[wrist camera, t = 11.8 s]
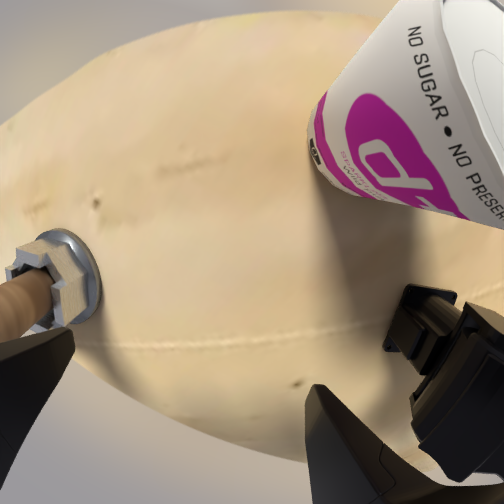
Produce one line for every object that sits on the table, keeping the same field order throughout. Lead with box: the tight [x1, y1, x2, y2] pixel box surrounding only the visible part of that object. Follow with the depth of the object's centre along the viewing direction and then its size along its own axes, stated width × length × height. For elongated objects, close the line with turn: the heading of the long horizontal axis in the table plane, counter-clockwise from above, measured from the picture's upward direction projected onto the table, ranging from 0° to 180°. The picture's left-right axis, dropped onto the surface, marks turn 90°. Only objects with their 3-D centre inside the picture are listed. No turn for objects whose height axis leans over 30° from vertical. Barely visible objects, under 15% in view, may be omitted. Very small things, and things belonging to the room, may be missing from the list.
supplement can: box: [307, 0, 504, 230], centre depth 10 cm, size 8×8×15 cm
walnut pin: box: [0, 266, 56, 343], centre depth 12 cm, size 4×4×14 cm
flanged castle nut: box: [5, 228, 101, 333], centre depth 18 cm, size 9×9×5 cm
